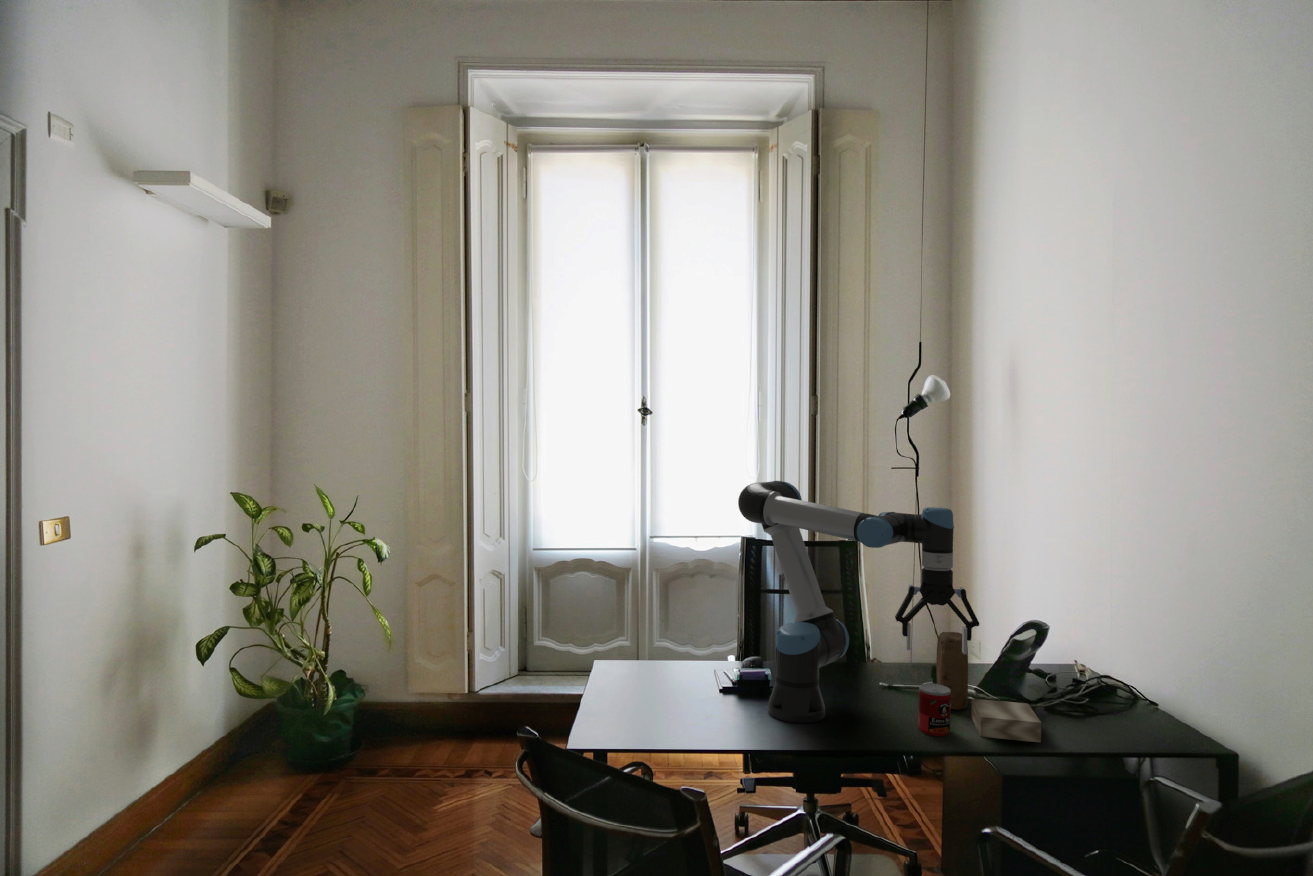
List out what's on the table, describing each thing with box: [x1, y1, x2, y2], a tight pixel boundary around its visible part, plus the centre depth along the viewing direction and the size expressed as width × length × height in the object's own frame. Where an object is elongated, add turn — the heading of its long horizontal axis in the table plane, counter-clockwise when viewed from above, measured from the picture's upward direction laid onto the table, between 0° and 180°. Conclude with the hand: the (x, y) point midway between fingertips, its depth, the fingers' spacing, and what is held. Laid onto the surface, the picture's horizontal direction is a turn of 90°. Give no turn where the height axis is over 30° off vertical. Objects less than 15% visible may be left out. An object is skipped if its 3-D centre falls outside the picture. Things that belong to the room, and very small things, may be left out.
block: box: [935, 631, 969, 711], centre depth 220 cm, size 11×8×20 cm
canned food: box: [918, 682, 952, 737], centre depth 200 cm, size 8×8×11 cm
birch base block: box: [970, 698, 1042, 744], centre depth 201 cm, size 14×14×5 cm
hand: (936, 651), depth 200 cm, fingers open, 13 cm apart
